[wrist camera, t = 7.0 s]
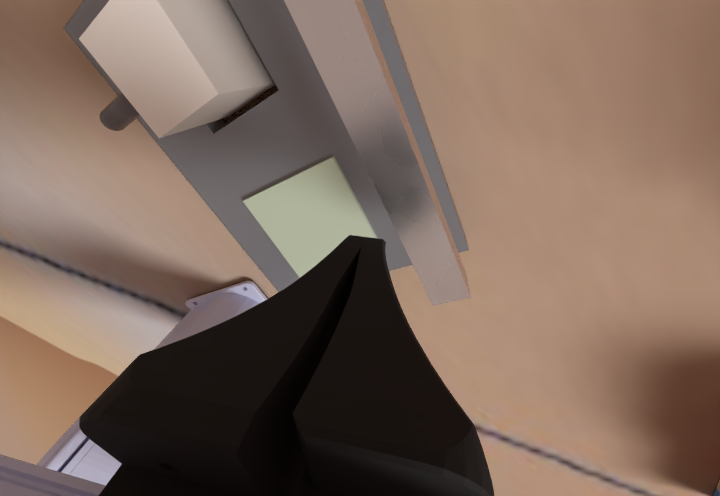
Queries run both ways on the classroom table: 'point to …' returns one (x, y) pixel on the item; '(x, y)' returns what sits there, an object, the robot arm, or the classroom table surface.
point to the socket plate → (292, 153)
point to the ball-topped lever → (382, 137)
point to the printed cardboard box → (717, 490)
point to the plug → (175, 62)
